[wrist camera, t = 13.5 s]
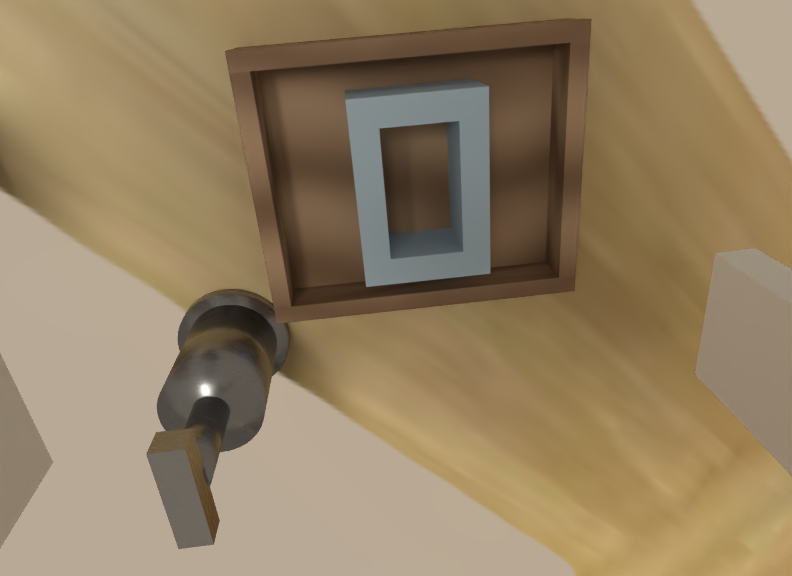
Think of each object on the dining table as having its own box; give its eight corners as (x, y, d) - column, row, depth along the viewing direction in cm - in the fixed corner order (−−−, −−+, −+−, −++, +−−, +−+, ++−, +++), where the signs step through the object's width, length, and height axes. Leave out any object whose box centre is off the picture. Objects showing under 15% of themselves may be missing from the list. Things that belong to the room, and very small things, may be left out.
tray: (236, 47, 31) (225, 51, 28) (566, 18, 32) (591, 18, 28) (282, 297, 37) (277, 323, 34) (555, 268, 38) (574, 290, 35)
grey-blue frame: (363, 259, 36) (366, 287, 32) (344, 90, 31) (345, 99, 28) (475, 247, 36) (490, 273, 32) (472, 78, 32) (489, 86, 28)
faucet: (169, 295, 37) (75, 448, 24) (279, 283, 37) (246, 428, 24) (194, 386, 40) (123, 567, 27) (296, 374, 40) (275, 547, 27)
